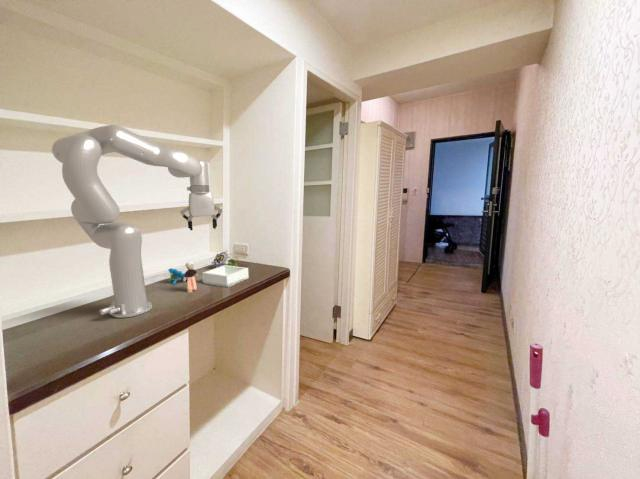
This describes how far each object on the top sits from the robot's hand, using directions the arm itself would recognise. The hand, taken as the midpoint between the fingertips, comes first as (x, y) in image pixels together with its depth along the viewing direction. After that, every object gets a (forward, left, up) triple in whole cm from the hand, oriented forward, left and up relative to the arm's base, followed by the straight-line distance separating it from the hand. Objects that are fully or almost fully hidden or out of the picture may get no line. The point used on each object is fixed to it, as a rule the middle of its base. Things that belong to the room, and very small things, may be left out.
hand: (203, 229), depth 133 cm
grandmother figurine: (-10, -1, -25) cm, 27 cm away
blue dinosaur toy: (-4, +14, -25) cm, 29 cm away
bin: (+6, -5, -25) cm, 26 cm away
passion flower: (+22, +10, -25) cm, 35 cm away
